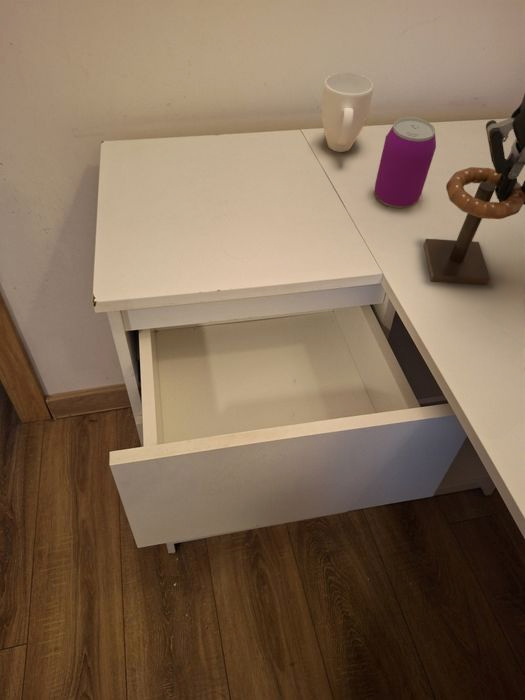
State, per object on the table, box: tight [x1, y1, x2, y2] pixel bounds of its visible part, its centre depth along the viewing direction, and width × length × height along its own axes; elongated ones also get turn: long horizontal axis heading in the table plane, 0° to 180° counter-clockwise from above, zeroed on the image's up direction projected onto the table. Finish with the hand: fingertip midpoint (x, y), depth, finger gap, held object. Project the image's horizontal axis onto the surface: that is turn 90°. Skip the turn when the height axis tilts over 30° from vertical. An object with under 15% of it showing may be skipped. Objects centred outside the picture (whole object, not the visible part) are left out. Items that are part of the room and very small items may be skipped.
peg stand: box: [423, 182, 495, 285], centre depth 71 cm, size 8×8×13 cm
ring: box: [445, 166, 525, 220], centre depth 66 cm, size 10×10×2 cm
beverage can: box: [374, 117, 437, 209], centre depth 81 cm, size 8×8×12 cm
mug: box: [320, 71, 374, 153], centre depth 90 cm, size 12×8×11 cm
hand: (511, 199), depth 67 cm, fingers closed on ring, 2 cm apart
